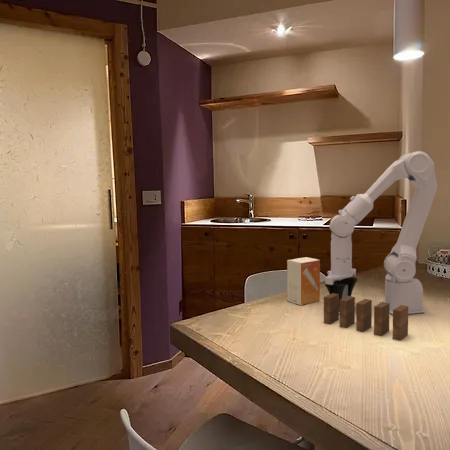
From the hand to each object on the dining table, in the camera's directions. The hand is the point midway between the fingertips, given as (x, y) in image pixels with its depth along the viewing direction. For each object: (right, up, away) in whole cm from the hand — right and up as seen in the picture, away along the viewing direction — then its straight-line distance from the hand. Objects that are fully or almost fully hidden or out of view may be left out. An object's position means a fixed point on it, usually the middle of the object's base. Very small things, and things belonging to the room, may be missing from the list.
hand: (341, 304), depth 123 cm
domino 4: (+5, -4, -18) cm, 19 cm away
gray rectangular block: (0, -2, 0) cm, 2 cm away
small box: (-9, -1, +10) cm, 13 cm away
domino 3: (+2, -3, -15) cm, 16 cm away
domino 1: (-5, -3, -9) cm, 11 cm away
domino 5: (+8, -4, -21) cm, 23 cm away
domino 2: (-2, -3, -12) cm, 13 cm away
